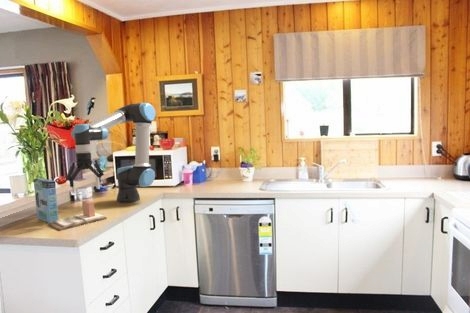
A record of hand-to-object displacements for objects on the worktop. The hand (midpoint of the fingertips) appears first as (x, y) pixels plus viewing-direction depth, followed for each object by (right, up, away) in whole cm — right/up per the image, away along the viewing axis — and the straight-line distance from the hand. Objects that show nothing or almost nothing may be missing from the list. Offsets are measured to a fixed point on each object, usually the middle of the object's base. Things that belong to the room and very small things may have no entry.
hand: (86, 190), depth 201 cm
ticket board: (-4, -17, -3) cm, 17 cm away
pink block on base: (+1, -15, +2) cm, 15 cm away
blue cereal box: (-24, -17, +5) cm, 29 cm away
